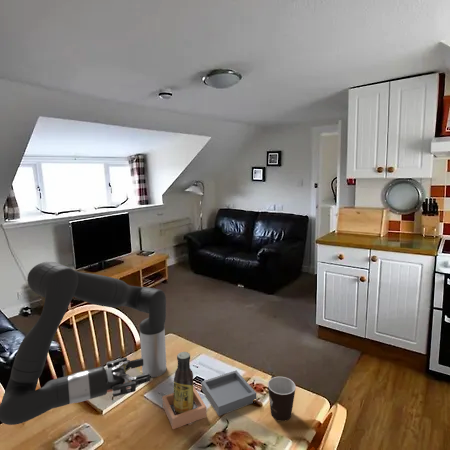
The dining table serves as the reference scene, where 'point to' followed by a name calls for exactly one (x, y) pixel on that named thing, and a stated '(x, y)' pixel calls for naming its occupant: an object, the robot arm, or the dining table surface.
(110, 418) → the dining table surface
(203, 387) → the tray
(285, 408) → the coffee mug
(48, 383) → the robot arm
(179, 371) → the sauce bottle
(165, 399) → the holder box
